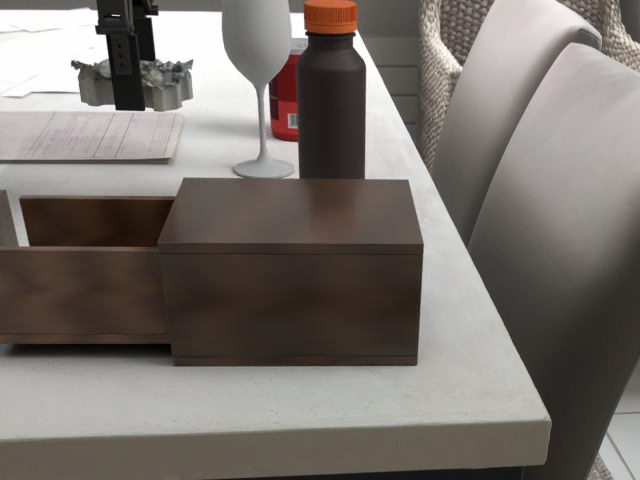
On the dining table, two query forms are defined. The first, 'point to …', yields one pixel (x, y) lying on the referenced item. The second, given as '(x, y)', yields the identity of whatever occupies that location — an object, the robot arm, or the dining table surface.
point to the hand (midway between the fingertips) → (138, 98)
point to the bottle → (331, 94)
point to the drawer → (83, 270)
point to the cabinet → (292, 272)
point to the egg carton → (158, 82)
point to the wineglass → (258, 63)
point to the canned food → (286, 95)
